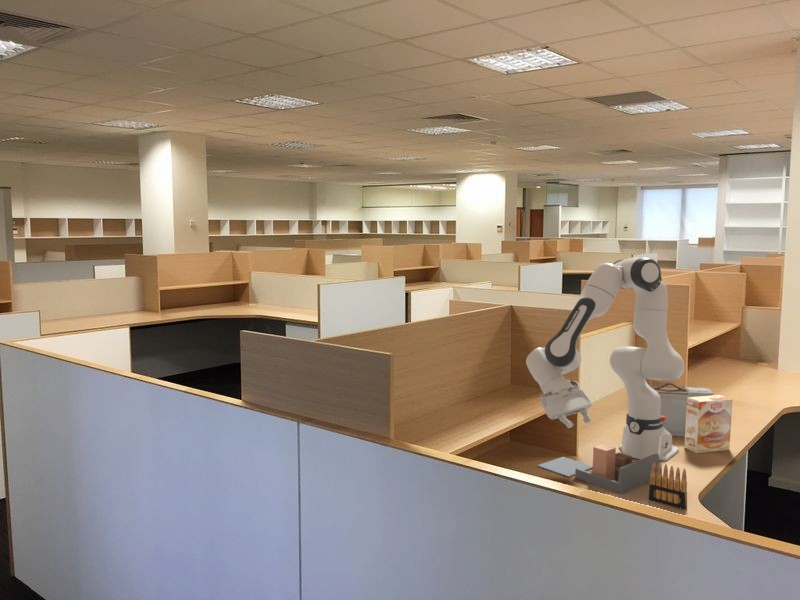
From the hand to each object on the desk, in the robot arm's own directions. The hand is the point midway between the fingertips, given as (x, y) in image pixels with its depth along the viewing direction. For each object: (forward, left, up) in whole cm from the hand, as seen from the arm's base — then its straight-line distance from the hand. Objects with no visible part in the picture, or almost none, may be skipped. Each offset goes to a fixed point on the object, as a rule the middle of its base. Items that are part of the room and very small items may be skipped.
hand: (580, 424), depth 221 cm
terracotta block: (0, +10, -16) cm, 19 cm away
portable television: (-68, -2, -17) cm, 70 cm away
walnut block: (-10, +10, -16) cm, 22 cm away
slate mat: (0, -5, -16) cm, 17 cm away
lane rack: (-5, +11, -16) cm, 20 cm away
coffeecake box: (-57, +16, -17) cm, 61 cm away
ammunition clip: (+1, +33, -17) cm, 37 cm away
